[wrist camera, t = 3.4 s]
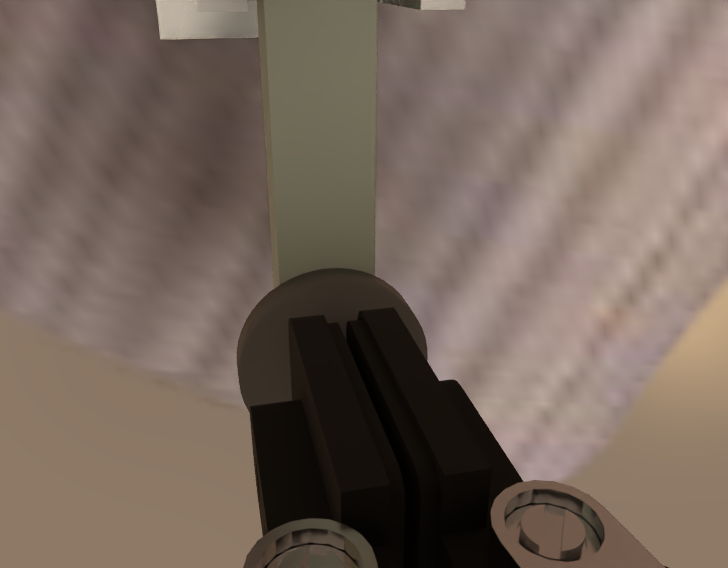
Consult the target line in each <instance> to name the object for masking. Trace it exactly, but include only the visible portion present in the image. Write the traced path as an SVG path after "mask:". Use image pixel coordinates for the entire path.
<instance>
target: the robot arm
mask: <svg viewBox="0 0 728 568" xmlns="http://www.w3.org/2000/svg"><path fill="white" fill-rule="evenodd" d="M288 330H289V350H290V369H291V388H292V401H285V402H278V403H270V404H262V405H255V406H250V420H251V432H252V444H253V455H254V465H255V474H256V485H257V494H258V502H259V509H260V517H261V524H262V533H263V537H262V538H261V539H259V540H258V541H257V543H256V544H255V545H254V547H253V548H252V549H251V551H250V552H249V553H248V555H247V557H246V560H245V564H244V567H243V568H668V567H666V566H663V565H662V564H661V563H660V562H659V561H658V560H657V559H656V558H655V557H654V556H653V555H652V554H651V553H650V552H649V551H648V550H647V549H646V548H645V547H644V546H643V545H642V544H641V543H640V542H639V541H638V540H637V539H636V538H635V537H634V536H633V535H632V534H631V533H630V532H629V531H628V530H627V529H626V528H625V527H624V526H623V525H622V524H621V523H620V522H619V521H618V520H617V519H616V518H615V517H614V516H613V515H612V514H611V513H610V512H609V511H608V510H607V509H606V508H605V507H604V506H603V505H602V504H601V503H599V502H598V501H597V500H595V499H594V498H593V497H591V496H590V495H589V494H587V493H585V492H583V491H581V490H579V489H577V488H575V487H572V486H569V485H566V484H562V483H558V482H554V481H541V480H533V481H527V482H523V480H522V479H521V477H520V476H519V474H518V472H517V471H516V469H515V468H514V466H513V465H512V463H511V462H510V460H509V459H508V457H507V456H506V454H505V453H504V451H503V450H502V448H501V446H500V445H499V443H498V442H497V440H496V439H495V437H494V436H493V434H492V433H491V431H490V430H489V428H488V427H487V425H486V424H485V422H484V420H483V419H482V417H481V416H480V414H479V413H478V411H477V410H476V408H475V407H474V405H473V404H472V402H471V401H470V399H469V398H468V396H467V394H466V393H465V391H464V390H463V388H462V387H461V385H460V384H459V383H458V382H457V381H456V380H444V381H439V380H438V378H437V377H436V375H435V373H434V372H433V370H432V368H431V367H430V365H429V364H428V362H427V360H426V359H425V357H424V355H423V354H422V352H421V350H420V349H419V347H418V345H417V344H416V342H415V341H414V339H413V337H412V336H411V334H410V332H409V331H408V329H407V327H406V326H405V324H404V323H403V321H402V319H401V318H400V316H399V314H398V313H397V311H396V310H395V308H394V307H391V308H382V309H372V310H363V311H359V313H358V317H357V320H353V321H347V325H346V339H345V337H344V335H343V332H342V330H341V327H340V325H339V323H338V322H334V323H327V321H326V318H325V316H324V315H316V316H306V317H297V318H289V321H288Z"/></svg>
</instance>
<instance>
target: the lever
mask: <svg viewBox="0 0 728 568" xmlns="http://www.w3.org/2000/svg"><path fill="white" fill-rule="evenodd" d="M256 3H257V19H258V36H259V52H260V69H261V85H262V102H263V118H264V135H265V151H266V168H267V184H268V201H269V217H270V233H271V250H272V266H273V283H274V289H273V290H272V291H271V292H269V293H268V294H267V295H266V296H265V297H264V298H263V299H262V300H261V301H260V302H259V303H258V304H257V305H256V307H255V308H254V309H253V310H252V312H251V313H250V315H249V317H248V318H247V320H246V322H245V324H244V326H243V328H242V331H241V334H240V337H239V341H238V347H237V368H238V376H239V384H240V390H241V394H242V397H243V400H244V403H245V405H246V407H247V409H248V411H249V412H250V406H255V405H262V404H270V403H278V402H285V401H292V388H291V369H290V350H289V330H288V321H289V318H297V317H306V316H316V315H324V316H325V318H326V321H327V323H334V322H338V323H339V325H340V327H341V330H342V332H343V335H344V337H345V339H346V325H347V321H353V320H357V317H358V313H359V311H363V310H372V309H382V308H391V307H394V308H395V310H396V311H397V313H398V314H399V316H400V318H401V319H402V321H403V323H404V324H405V326H406V327H407V329H408V331H409V332H410V334H411V336H412V337H413V339H414V341H415V342H416V344H417V345H418V347H419V349H420V350H421V352H422V354H423V355H424V357H425V359H426V360H427V345H426V339H425V336H424V333H423V330H422V327H421V325H420V324H419V322H418V320H417V318H416V317H415V315H414V313H413V312H412V310H411V309H410V307H409V306H408V304H407V303H406V301H405V300H404V299H403V297H402V296H401V295H400V294H399V293H398V292H397V291H396V290H395V289H394V288H393V287H392V286H391V285H389V284H388V283H386V282H385V281H383V280H382V279H380V278H378V277H376V276H375V186H376V86H377V0H256Z"/></svg>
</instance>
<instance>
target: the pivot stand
mask: <svg viewBox="0 0 728 568" xmlns="http://www.w3.org/2000/svg"><path fill="white" fill-rule="evenodd" d="M377 2H382V3H387V4H392V5H398V6H403V7H408V8H414V9H419V10H451V9H465V0H377ZM156 6H157V15H158V23H159V31H160V40H162V39H214V38H259V36H258V19H257V3H256V0H156Z"/></svg>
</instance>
